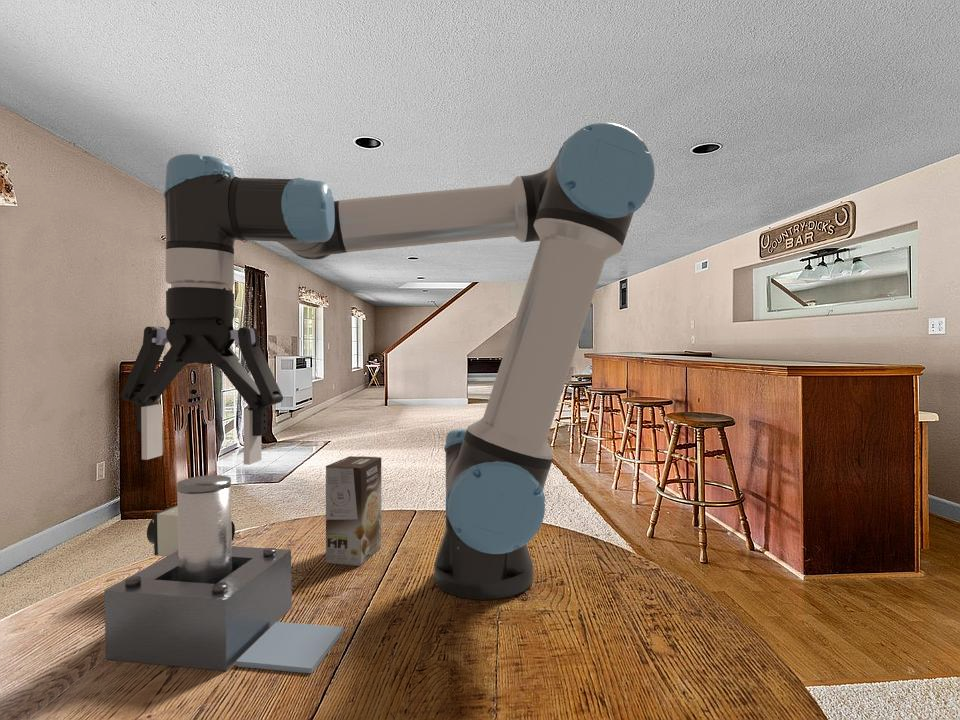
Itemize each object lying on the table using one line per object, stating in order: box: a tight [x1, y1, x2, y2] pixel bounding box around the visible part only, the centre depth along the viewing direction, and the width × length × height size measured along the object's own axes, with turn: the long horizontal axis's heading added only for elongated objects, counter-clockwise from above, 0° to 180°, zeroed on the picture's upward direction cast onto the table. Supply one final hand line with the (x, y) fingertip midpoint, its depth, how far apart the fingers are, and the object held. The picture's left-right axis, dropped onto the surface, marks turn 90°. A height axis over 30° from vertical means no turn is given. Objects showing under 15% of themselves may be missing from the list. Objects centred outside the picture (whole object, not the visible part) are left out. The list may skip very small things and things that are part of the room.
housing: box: [103, 545, 293, 672], centre depth 71 cm, size 15×15×9 cm
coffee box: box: [325, 455, 383, 567], centre depth 96 cm, size 9×6×16 cm
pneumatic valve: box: [146, 504, 236, 557], centre depth 85 cm, size 6×12×12 cm, turn 78°
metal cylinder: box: [176, 474, 233, 584], centre depth 71 cm, size 6×6×17 cm
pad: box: [235, 621, 345, 675], centre depth 67 cm, size 9×9×1 cm
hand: (201, 460), depth 70 cm, fingers open, 13 cm apart
